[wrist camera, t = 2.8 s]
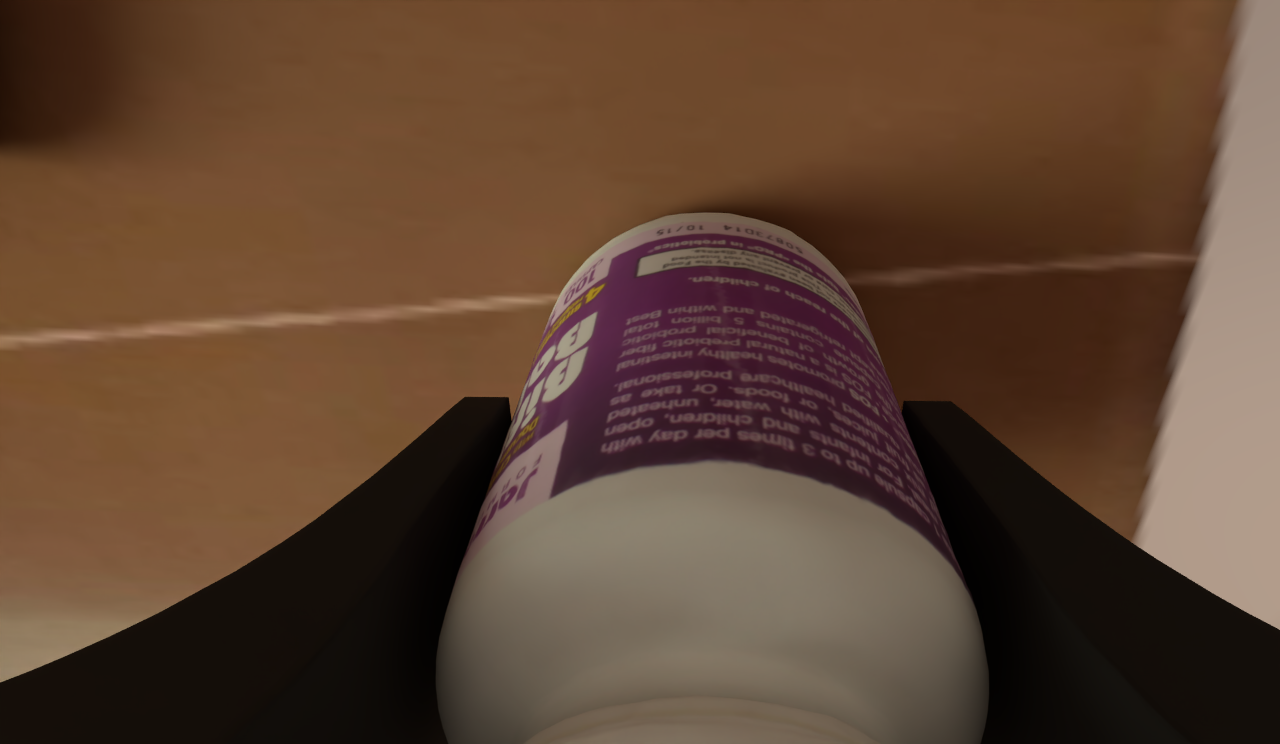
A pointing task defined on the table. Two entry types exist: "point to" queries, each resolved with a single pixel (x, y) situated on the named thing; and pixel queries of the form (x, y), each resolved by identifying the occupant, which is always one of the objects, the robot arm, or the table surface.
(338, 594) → the robot arm
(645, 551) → the pill bottle
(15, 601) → the table surface
